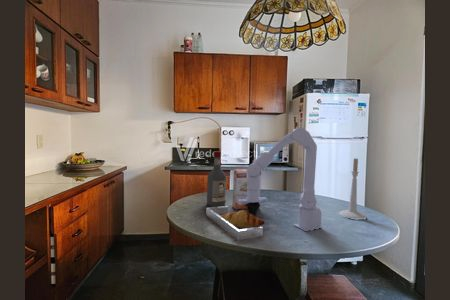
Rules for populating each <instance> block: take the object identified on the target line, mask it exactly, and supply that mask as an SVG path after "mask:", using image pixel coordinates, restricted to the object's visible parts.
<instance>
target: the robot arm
mask: <svg viewBox="0 0 450 300" xmlns="http://www.w3.org/2000/svg"><path fill="white" fill-rule="evenodd" d="M295 142H296V143H298V144H300V145H301V147H302V148H303V149H304V150H305V152H304V153H305V154H304V166H303V169H304V170H303V182H302V190H301V193H300V194H299V199H300V204H299V205H298V218H297V220H298V221H297V223H294V224H293V226H295V227H297V228H298V229H300V230H303V231H304V232H309V230H310V231H314V229H316V230H320V229H319V228H322V229H323V227H322V211H321V209H320V207H318V206H317V198H316V194H315V193H316V192H315V180H316V167H317V165H316V164H317V153H318V152H317V151H318V146H317V144H316V142H315V140H314V139H313V137H312V136H311V133H310V132H309V131H308V130H306V129H305V128H303V127H296V128H294V129H293V130H292V131H291V132H289V133H287V134H286V135H284V136H283V137H282V138H281V139H280V140H279V141H278V142H277V143H276V144H275V145H274V146H273V147H272V148H270V149H269V150H264V151H261V152H260V153H259V156H258V157H257V158H256V159H253V160H252V163H250V164H249V165H248V167H247V173H248V179H247V198H245V199H240V200H238V204H239V205H242V204H246V206H247V208H248V209H247V211H248V213H250V214H252V215H254V216H255V217H256V215H257V212H258V210H259V208H260V207H261V204H260V203H268V197H265V196H264V197H261V196H260V197H259V192H260V193H261V183H260V172H261V173H262V170H265V169H266V168H268V166H269V165H271V163H273V162H274V160H275V159H274V157H275V156H276V155H277V154H278V153H280V152H281V151H282V150H283V149H284V148H285V147H286V146H287V145H290V144H294V143H295Z"/></svg>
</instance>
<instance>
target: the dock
mask: <svg viewBox="0 0 450 300" xmlns="http://www.w3.org/2000/svg"><path fill="white" fill-rule="evenodd" d="M205 209H206V210H205V211H206V214H205V215H206V217H208V218H209V219H211V220H212V221H213V222H215V223H216V224H217V225H218V226H219V227H221V228H222V229H223V230H224V231H225V232H227V233H228V234H230V235H231V237H233V238H234V239H235V240H237V241H243V240H249V239H254V238H255V239H256V238H262V237H263V234H264V233H263V231H264V229H263V228H264V227H263V226H259V227H246V228H242V229H239V228H238V227H234V226H233V225H232V224H230V223H229V222H227V221H226V220H225V219H223V218H222V217H220V216H221V215H224V214H229V206H227V205H224V206H220V207H212V206H210V207H206V208H205Z"/></svg>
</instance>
